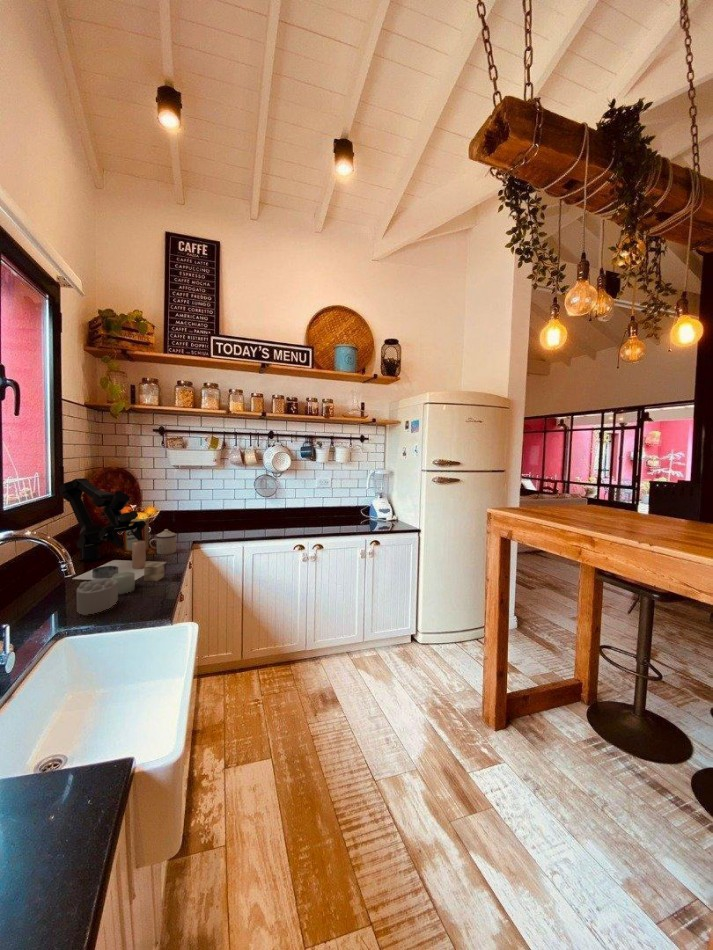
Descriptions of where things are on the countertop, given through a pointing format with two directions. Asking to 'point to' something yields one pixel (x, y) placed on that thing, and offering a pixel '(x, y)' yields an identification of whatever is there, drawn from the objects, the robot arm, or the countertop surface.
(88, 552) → the robot arm
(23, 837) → the countertop surface
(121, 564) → the board
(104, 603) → the lumpy-topped squat cylinder
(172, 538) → the teacup with lid
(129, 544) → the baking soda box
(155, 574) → the birch block
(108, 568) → the metal collar
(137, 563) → the pink cylinder
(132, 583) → the sage jar
